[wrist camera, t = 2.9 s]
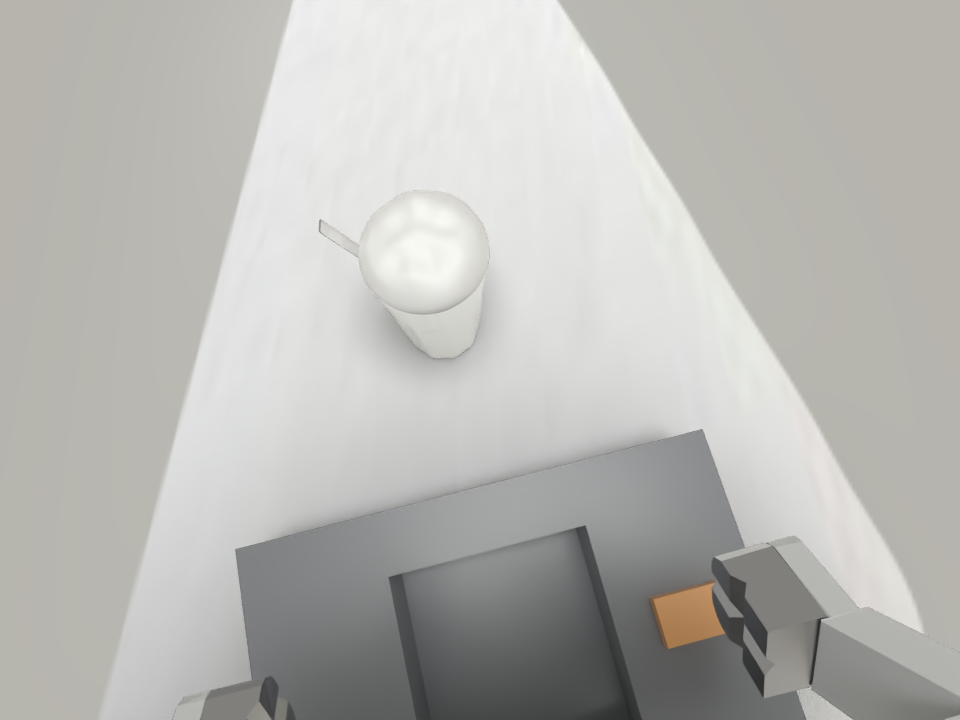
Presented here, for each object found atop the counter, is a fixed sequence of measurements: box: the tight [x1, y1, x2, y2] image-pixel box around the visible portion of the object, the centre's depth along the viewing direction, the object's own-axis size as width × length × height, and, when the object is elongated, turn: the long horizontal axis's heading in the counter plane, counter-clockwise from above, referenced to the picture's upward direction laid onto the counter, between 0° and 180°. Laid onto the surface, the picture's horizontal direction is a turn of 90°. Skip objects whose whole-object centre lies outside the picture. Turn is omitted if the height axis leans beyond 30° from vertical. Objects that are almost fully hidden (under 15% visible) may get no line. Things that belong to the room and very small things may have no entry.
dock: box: [235, 429, 806, 720], centre depth 22 cm, size 18×12×5 cm, turn 104°
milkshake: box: [319, 190, 490, 359], centre depth 24 cm, size 4×5×10 cm
